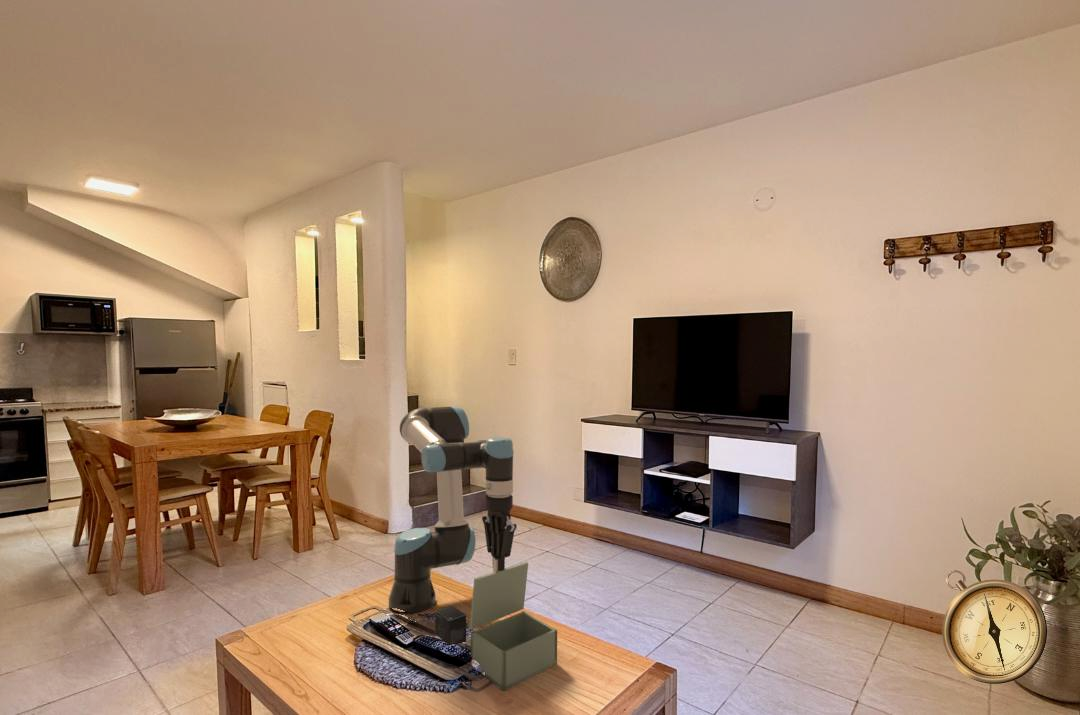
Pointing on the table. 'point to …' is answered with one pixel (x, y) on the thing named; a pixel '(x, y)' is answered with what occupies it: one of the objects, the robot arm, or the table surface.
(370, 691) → the table surface
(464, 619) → the box
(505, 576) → the lid
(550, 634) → the carton
